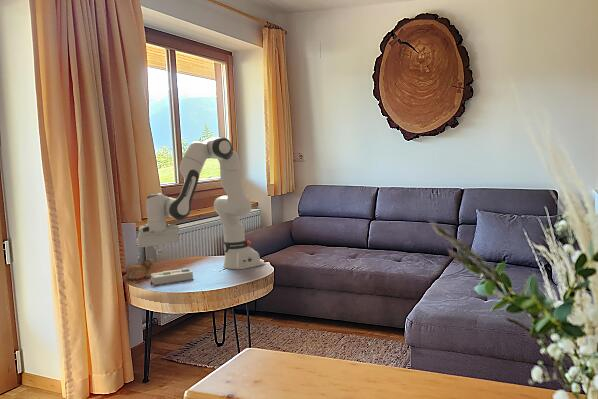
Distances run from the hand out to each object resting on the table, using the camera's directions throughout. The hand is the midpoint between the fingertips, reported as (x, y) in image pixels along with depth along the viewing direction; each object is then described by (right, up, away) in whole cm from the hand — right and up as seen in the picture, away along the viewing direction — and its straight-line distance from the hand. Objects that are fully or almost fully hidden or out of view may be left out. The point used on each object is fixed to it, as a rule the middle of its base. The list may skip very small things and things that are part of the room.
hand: (159, 253), depth 255 cm
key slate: (+11, -11, +6) cm, 17 cm away
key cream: (-1, -14, 0) cm, 14 cm away
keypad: (+5, -14, +3) cm, 15 cm away
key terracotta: (+7, -13, +4) cm, 15 cm away
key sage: (+3, -12, +2) cm, 13 cm away
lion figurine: (-14, -14, +15) cm, 25 cm away
